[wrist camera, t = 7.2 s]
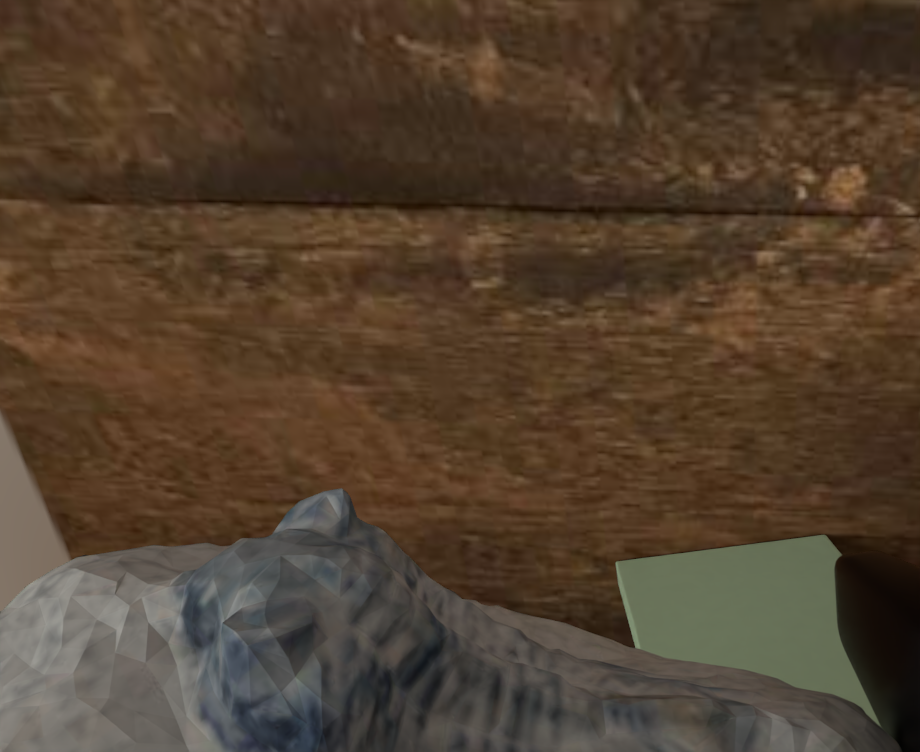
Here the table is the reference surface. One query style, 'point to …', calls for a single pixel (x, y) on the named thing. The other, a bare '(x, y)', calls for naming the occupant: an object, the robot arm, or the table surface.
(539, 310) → the table surface
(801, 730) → the fossil
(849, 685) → the sage green block
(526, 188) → the table surface
